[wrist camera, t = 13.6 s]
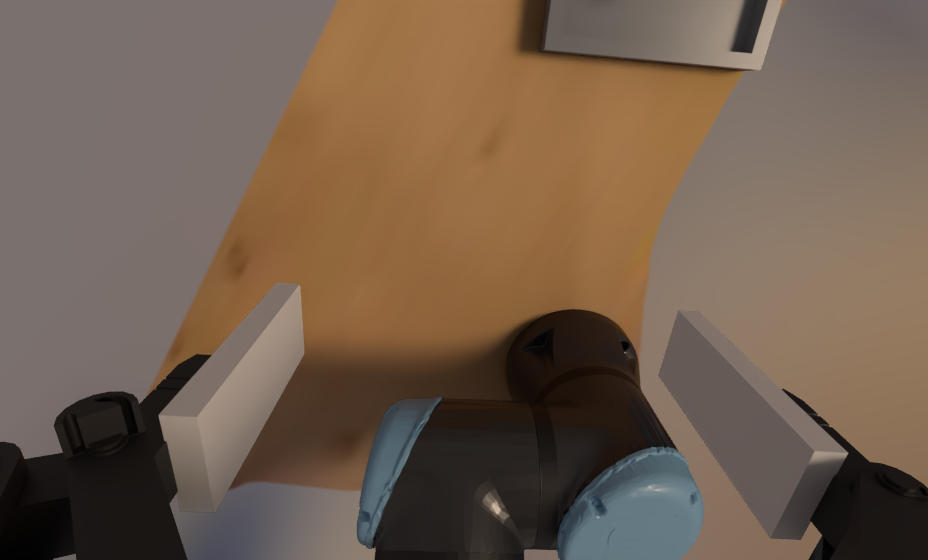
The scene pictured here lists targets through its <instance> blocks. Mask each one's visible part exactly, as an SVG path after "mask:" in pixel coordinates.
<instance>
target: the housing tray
mask: <svg viewBox="0 0 928 560" xmlns="http://www.w3.org/2000/svg"><path fill="white" fill-rule="evenodd" d="M781 4H782V0H546V7H545V14H544V21H543V29H542V36H541V44H540V51H539V52H549V53H560V54H571V55H581V56H592V57H602V58H613V59H624V60H634V61H645V62H655V63H666V64H677V65H687V66H698V67H708V68H719V69H730V70H740V71H753V70H761V67H762V64H763V61H764V57H765V55H766V52H767V48H768V45H769V42H770V39H771V36H772V32H773V29H774V26H775V23H776V20H777V16H778V13H779V10H780V7H781Z"/></svg>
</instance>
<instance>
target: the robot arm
mask: <svg viewBox="0 0 928 560" xmlns="http://www.w3.org/2000/svg"><path fill="white" fill-rule="evenodd" d="M304 354H305V353H304V338H303V323H302V308H301V293H300V284H289V283H276V284H275V285H274V286H273V288H272V289H271V290H270V291H269V292H268V293H267V294H266V295H265V297H264V298H263V299H262V300H261V301H260V302H259V303H258V304H257V305H256V307H255V308H254V309H253V310H252V311H251V312H250V313H249V314H248V316H247V317H246V318H245V319H244V320H243V321H242V322H241V323H240V324H239V326H238V327H237V328H236V329H235V330H234V331H233V332H232V333H231V335H230V336H229V337H228V338H227V339H226V340H225V341H224V342H223V343H222V345H221V346H220V347H219V348H218V349H217V350H216V351H215V352H214V353H213V355H200V354H196V355H194V356H193V357H191V358H189V359H187V360H186V361H184V362H182V363H180V364H178V365H177V366H176V368H175V369H174V370H173V371H172V372H171V373H170V374H169V375H168V376H167V377H166V379H164V380H163V381H162V382H161V383H160V384H159V385H158V386H157V387H156V390H153V391H152V392H151V393H150V394H149V395H148V396H147V397H146V398H145V399H144V400H143V401H142V402H141V403H140V404H139V402H138V400H137V398H136V397H135V396H134V395H133V394H129V393H126V392H106V393H101V394H96V395H93V396H90V397H87V398H84V399H82V400H79V401H77V402H76V403H74V404H72V405H71V406H69V407H67V408H66V409H64V410H63V412H62V413H61V414H59V415H58V417H57V418H56V421H55V424H54V428H55V431H56V433H57V436H58V439H59V442H60V445H61V447H62V451H63V453H59V454H53V455H47V456H41V457H35V458H29V459H24V457H23V455H22V452H21V450H20V448H19V447H17V446H16V445H15V444H13V443H7V442H0V560H53V559H54V558H59V557H63V556H67V555H72V554H76V559H77V560H187V557H186V554H185V551H184V548H183V544H182V541H181V538H180V535H179V532H178V529H177V526H176V523H175V520H174V517H173V514H172V511H171V507H170V505H169V503H170V502H171V500H172V499H173V498H174V496H175V495H176V493H177V497H178V502H179V506H180V510H181V511H182V512H203V513H215V512H216V511H217V509H218V507H219V505H220V503H221V502H222V500H223V498H224V496H225V495H226V493H227V491H228V489H229V487H230V486H231V484H232V482H233V480H234V479H235V477H236V475H237V473H238V471H239V470H240V468H241V466H242V464H243V462H244V461H245V459H246V457H247V455H248V454H249V452H250V450H251V448H252V446H253V445H254V443H255V441H256V439H257V437H258V436H259V434H260V432H261V430H262V429H263V427H264V425H265V423H266V421H267V420H268V418H269V416H270V414H271V412H272V411H273V409H274V407H275V405H276V404H277V402H278V400H279V398H280V396H281V395H282V393H283V391H284V389H285V388H286V386H287V384H288V382H289V380H290V379H291V377H292V375H293V373H294V371H295V370H296V368H297V366H298V364H299V363H300V361H301V359H302V357H303V355H304ZM506 376H507V382H508V388H509V391H510V394H511V396H512V398H513V400H514V401H501V400H473V399H445V398H444V396H437V397H436V398H420V399H402V400H399V401H397V402H396V403H394V404H393V405H391V406H390V407H389V409H388V410H387V411H386V413H385V414H384V416H383V418H382V420H381V423H380V425H379V427H378V430H377V433H376V435H375V438H374V442H373V445H372V448H371V452H370V455H369V459H368V463H367V467H366V471H365V476H364V481H363V486H362V491H361V497H360V510H359V516H358V521H357V537H358V541H359V542H360V543H361V544H362V545H365V546H366V547H367V548H369V549H370V548H374V547H375V548H376V552H375V560H524V550H525V549H541V550H542V549H543V550H557V552H558V558H559V559H560V560H679V559H681V558H682V557H683V556H684V555H685V554H686V552H688V550H689V549H690V548H691V546H692V545H693V544H694V542H695V540H696V539H697V537H698V535H699V532H700V530H701V527H702V523H703V517H704V506H703V500H702V496H701V494H700V492H699V489H698V487H697V485H696V483H695V481H694V479H693V477H692V475H691V473H690V470H689V468H688V464H687V461H686V460H685V458H684V457H683V456H682V454H681V453H680V452H679V451H678V450H677V448H676V446H675V445H674V443H673V442H672V440H671V438H670V437H669V435H668V433H667V432H666V430H665V429H664V427H663V425H662V424H661V422H660V420H659V419H658V417H657V416H656V414H655V412H654V411H653V409H652V407H651V406H650V404H649V402H648V401H647V399H646V397H645V396H644V394H643V393H642V391H641V387H640V374H639V362H638V357H637V354H636V351H635V349H634V346H633V345H632V343H631V341H630V340H629V338H628V337H627V335H626V334H625V332H624V331H623V330H622V329H621V328H620V327H619V326H618V325H617V324H616V323H615V322H614V321H612V320H611V319H609V318H607V317H605V316H603V315H601V314H598V313H595V312H591V311H585V310H566V311H560V312H556V313H553V314H550V315H547V316H545V317H542V318H540V319H538V320H537V321H535V322H533V323H532V324H531V325H529V326H528V327H527V328H526V329H525V330H523V331H522V332H521V334H520V335H519V336H518V337H517V338H516V340H515V341H514V343H513V344H512V346H511V348H510V351H509V353H508V357H507V361H506ZM659 377H660V378H661V380H662V381H663V383H664V384H665V386H666V387H667V389H668V390H669V392H670V393H671V394H672V396H673V397H674V399H675V400H676V402H677V403H678V405H679V406H680V407H681V409H682V410H683V412H684V413H685V415H686V416H687V418H688V419H689V421H690V422H691V423H692V425H693V427H694V428H695V429H696V431H697V432H698V434H699V435H700V437H701V438H702V440H703V441H704V443H705V444H706V446H707V447H708V448H709V450H710V451H711V453H712V454H713V456H714V457H715V458H716V460H717V462H718V463H719V464H720V466H721V467H722V469H723V470H724V472H725V473H726V475H727V476H728V478H729V479H730V481H731V482H732V483H733V485H734V486H735V488H736V489H737V491H738V492H739V493H740V495H741V497H742V498H743V499H744V501H745V502H746V504H747V505H748V507H749V508H750V510H751V511H752V513H753V514H754V516H755V517H756V518H757V520H758V521H759V523H760V524H761V526H762V527H763V528H764V530H765V531H766V533H767V534H768V536H769V537H770V538H774V539H795V540H801V538H802V536H803V535H804V533H805V531H806V529H807V527H808V525H809V524H810V522H812V523H813V524H814V526H815V527H816V528H817V529H818V531H819V532H820V533H821V534H822V537H821V539H820V540H819V542H818V544H817V546H816V548H815V549H814V551H813V553H812V554H811V556H810V558H809V560H928V488H927V487H926V486H925V485H924V484H922V483H921V482H919V481H918V480H916V479H915V478H913V477H912V476H911V475H909V474H906V473H905V472H903V471H901V470H899V469H897V468H894V467H891V466H888V465H885V464H881V463H874V462H869V461H868V460H867V459H866V458H865V457H864V456H863V455H862V454H860V453H859V452H858V451H857V450H856V449H855V448H854V447H853V446H852V445H851V444H850V443H848V442H847V441H846V440H845V439H844V438H843V437H842V436H841V435H840V434H839V433H838V432H837V431H835V430H834V429H833V428H832V427H829V424H828V423H827V422H826V421H825V420H823V419H822V418H821V417H820V416H819V417H818V416H817V413H816V412H815V411H814V410H813V409H812V408H811V407H809V406H808V405H807V404H806V403H805V402H804V401H802V400H801V399H799V398H798V397H796V396H795V395H793V394H791V393H790V392H788V391H786V390H785V389H780V388H779V387H778V386H777V385H776V384H775V383H774V382H773V381H772V380H771V379H770V378H769V377H768V376H767V375H765V373H763V372H762V371H761V370H760V369H759V368H758V367H757V366H756V365H755V364H754V363H753V362H752V361H751V360H750V359H749V358H747V356H746V355H744V354H743V353H742V352H741V351H740V350H739V349H738V348H737V347H736V346H735V345H734V344H733V343H732V342H731V341H730V340H729V339H728V338H727V337H725V336H724V335H723V334H722V333H721V332H720V331H719V330H718V329H717V328H716V327H715V326H714V325H713V324H712V323H711V322H709V320H708V319H707V318H705V317H704V316H703V315H702V314H701V313H700V312H695V311H680V310H679V311H678V313H677V317H676V320H675V323H674V326H673V330H672V333H671V336H670V340H669V343H668V346H667V350H666V353H665V356H664V359H663V362H662V366H661V369H660V373H659Z"/></svg>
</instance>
